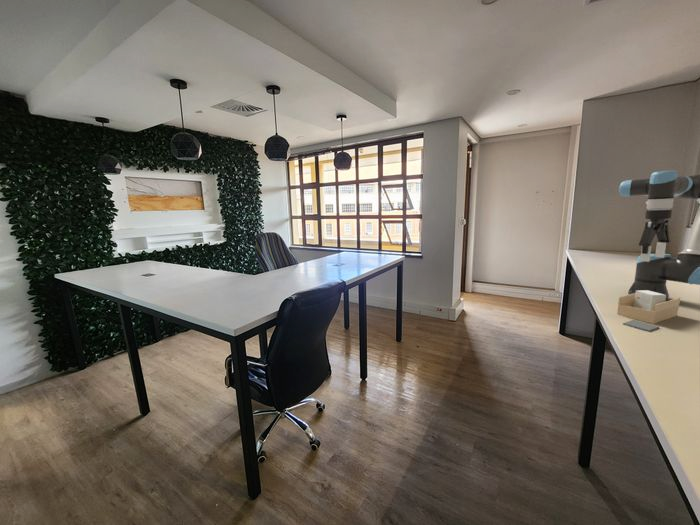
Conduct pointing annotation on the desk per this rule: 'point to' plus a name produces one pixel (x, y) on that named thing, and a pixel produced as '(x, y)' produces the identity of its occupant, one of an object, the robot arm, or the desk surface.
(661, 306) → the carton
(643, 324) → the mat
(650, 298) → the small box
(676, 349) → the desk surface
